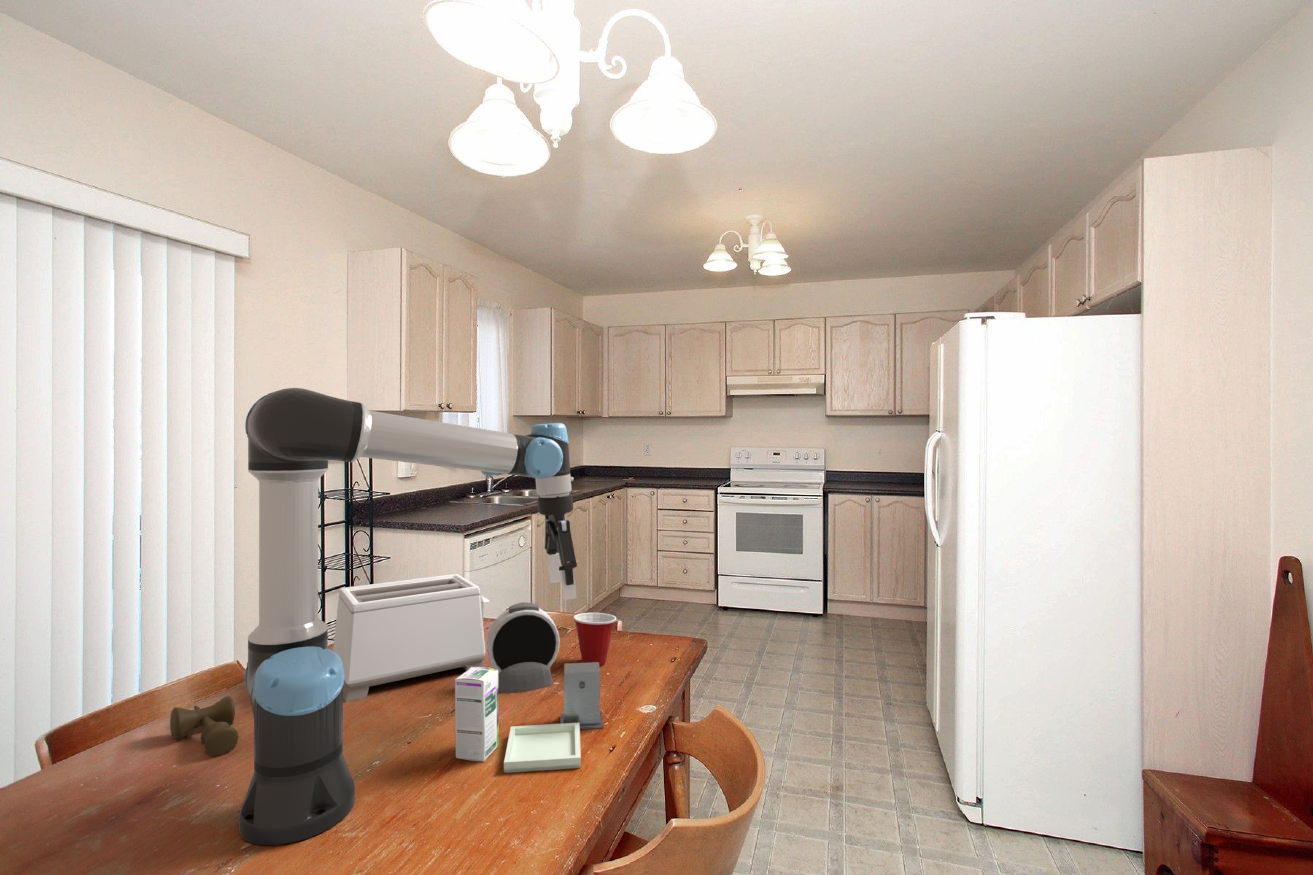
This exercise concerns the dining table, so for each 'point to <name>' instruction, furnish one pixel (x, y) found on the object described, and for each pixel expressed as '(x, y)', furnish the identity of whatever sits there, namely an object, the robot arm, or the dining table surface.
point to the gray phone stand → (582, 695)
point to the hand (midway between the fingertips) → (562, 590)
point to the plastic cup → (594, 636)
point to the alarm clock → (523, 648)
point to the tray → (543, 747)
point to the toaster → (407, 630)
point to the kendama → (208, 726)
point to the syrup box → (476, 713)
